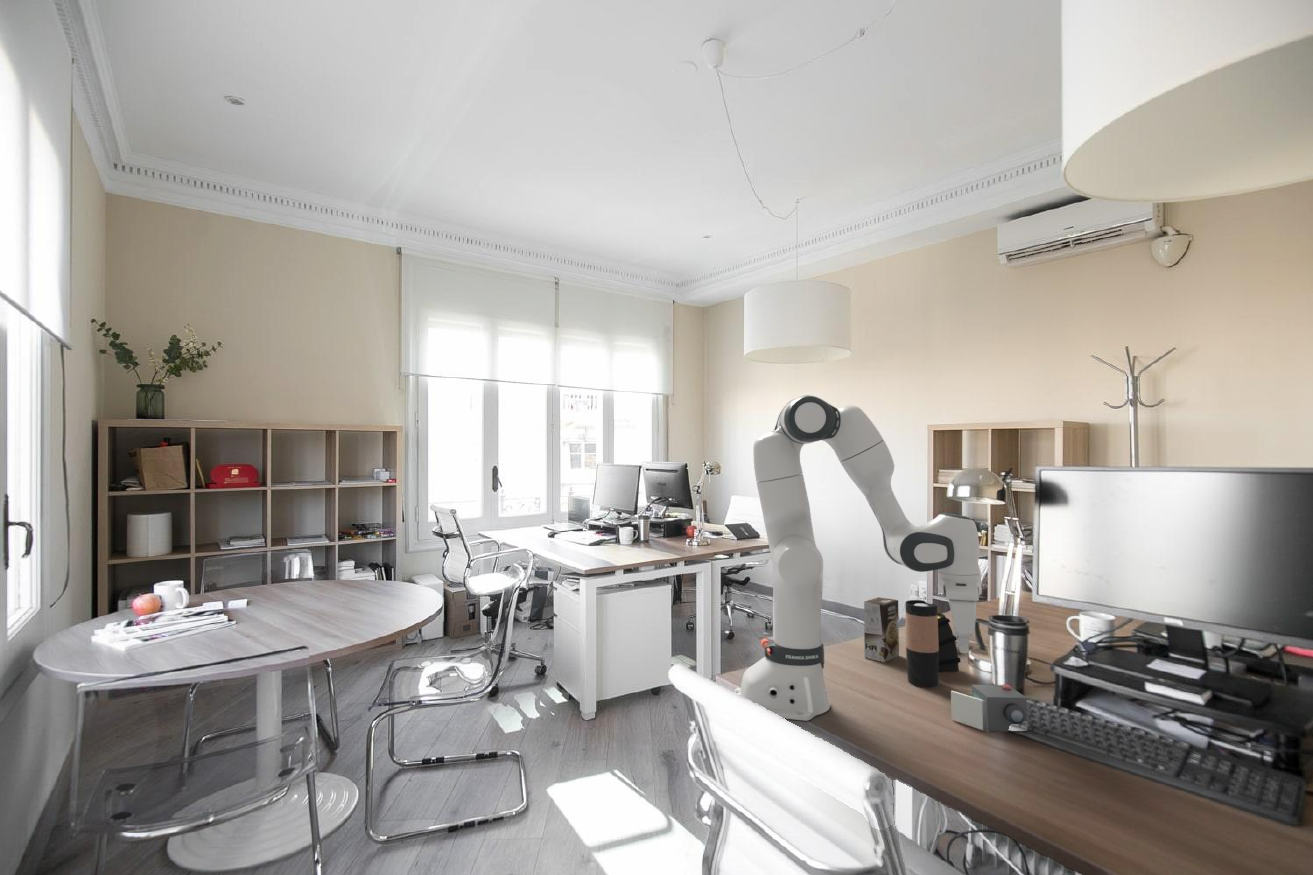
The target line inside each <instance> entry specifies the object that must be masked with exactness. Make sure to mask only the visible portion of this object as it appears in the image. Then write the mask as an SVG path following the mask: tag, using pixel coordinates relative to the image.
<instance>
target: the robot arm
mask: <svg viewBox="0 0 1313 875" xmlns="http://www.w3.org/2000/svg"><path fill="white" fill-rule="evenodd" d="M773 429H774V430H772V431H769V432H766V433H763V434H762V435H760V436H758V438H757V439H756V440H755V441H754V443H753V449H752V450H753V468H754V469H753V470H754V476H755V481H756V488H757V491H758V497H759V501H760V506H761V507H760V508H761V512H762V517H763V521H764V522H763V523H764V527H765V532H766V533H765V534H766V537H767V542H768V547H769V553H770V558H771V561H772V569H773V570H772V572H773V573H772V578H773V579H772V580H773V581H772V582H773V584H772V585H773V586H772V588H773V589H772V590H773V591H772V592H773V594H772V639H771V640H770V641H769V640H768V638H762V640H761V641H760V645H761V647H762V648H763V649H764V657H762V658H761V659H759V660H758V661H756V662H755V663H754V664H752V665H751V666H749V667H748V668H746V670H745V671H744V673H743V675H742V679H741V683H740V687H736V688H735V689H734V690H733V691H734V692H735V693H736V694H738V695H740V696H744V697H745V698H747V699H749V700H751V701H752V702H753V703H758V704H759V705H761V706H763V707H765V708H766V709H767V710H770V711H772V712H774V713H775V714H778V715H779V716H781V717H784V718H786V720H795V721H810V720H812V719H813V718H814V717H816V716H818V715H822V714H824V713H826V712H827V711H829V710H830V708H831V704H830V701H829V697H828V694H827V688H826V682H825V677H824V667H825V648H824V647H825V646H824V644H823V642H822V602H823V600H822V599H823V589H824V588H823V586H824V585H823V584H824V582H823V581H824V559H823V556H822V553H821V551H820V550H819V548H818V547H817V545H816V541H815V535H814V530H813V529H814V527H813V522H812V517H811V516H812V515H811V507H810V502H809V497H808V492H807V487H806V483H805V479H804V478H805V477H804V472H803V468H802V465H801V464H802V463H801V450H802V448H803V447H804V445H808V444H812V443H815V442H819V441H824V442H825V443H826V444H828V445H829V446H830V448H831V449H832V450H833V451H834V453H835V455H836V457H837V458H838V461H839V462H840V464H841V466H842V467H843V469H844V471H845V472H846V474H847V476H848V477H849V478H850V480H851V481H852V482H853V483H854V485H855V486H856V487H857V488H858V489H859V491H860V492H861V493H862V494H863V497H865V499H866V501H867V502H868V505H869V506H870V508H871V510H872V513H873V514H874V516H875V518H876V519H877V522H878V524H879V526H880V528H881V532H882V539H883V540H882V541H883V549H884V551H885V553H886V555H887V557H889V559H890V560H892V561H893V562H895V563H896V564H899V565H901V566H904V567H906V568H907V569H909V570H911V571H914V572H919V573H922V572H923V573H924V572H925V573H926V572H930V571H931V572H932V571H937V581H938V582H937V583H938V586H937V587H938V592H940V593H941V594H942V595H943V596H944V599H945V600H946V601H947V603H948V605H949V608H950V616H951V620H952V626H953V630H954V634H955V635H954V636H956V638H957V640H956V641H958V648H959V649H958V650H959V652H960V653H961V654H969V652H970V650H969V644H970V638H973V637H974V635H975V630H976V629H975V628H976V616H977V614H976V612H977V602H979V601H980V595H982V594H983V593H982V592H983V590H982V574H981V573H982V572H981V568H980V565H979V559H980V553H981V552H980V540H979V532H978V527H977V525H976V523H975V521H974V520H973V519H972V518H970V517H969V516H966V515H960V514H955V513H949V512H947V513H946V512H942V513H939V514H938V515H937V516H936V517H935V518H933V519H932V520H930V521H928V522H926V523H924V524H922V525H919V526H915V525H914V524H913V523H912V522H911V521H910V520H909V519H908V518H907V517H906V515H905V513H904V511H903V509H902V507H901V505H900V503H899V502H898V500H897V498H896V496H895V494H894V491H893V489H892V484H891V482H892V476H893V474H894V471H895V464H894V463H895V462H894V459H893V457H892V454H891V451H890V449H889V447H888V445H887V444H886V441H885V439H884V438H883V437H882V435H881V433H880V431H879V430H878V428H877V427H876V426H875V424H874V423H873V421H872V420H871V419H870V418H869V417H868V415H867V414H866V413H865V412H864V411H863V409H861V408H860V407H858V406H856V405H844V406H841V407H838V408H837V407H835V406H833V405H831V404H830V403H828V402H827V401H825V400H823V399H822V398H820V397H817V396H815V395H802V396H798V397H795V398H793V399H791V400H790V401H789V402H787V403H786V405H785V406H783V408H782V409H781V411H780V413H779V415H778V418H777V421H776V424H775V426H774V428H773ZM784 718H783V719H784Z"/></svg>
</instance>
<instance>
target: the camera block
mask: <svg viewBox="0 0 1313 875" xmlns="http://www.w3.org/2000/svg"><path fill="white" fill-rule="evenodd" d="M971 696H972V697H975V698H978V699H981V700H985V701H986V704H987V731H986V732H1000V733H1001V732H1007V733H1009V730H1008V729H1009V726H1010V725H1011V724H1021V723H1022V722H1023V721H1027V722H1028V703H1027V702H1028V698H1027V697H1026V696H1025V695H1023V694H1022V693H1020V692H1019V691H1018V690H1016V689H1015V688H1013V687H1012V686H1011V685H1009V684H971Z"/></svg>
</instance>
